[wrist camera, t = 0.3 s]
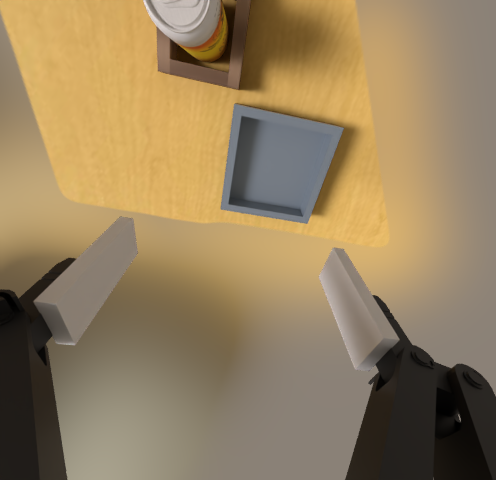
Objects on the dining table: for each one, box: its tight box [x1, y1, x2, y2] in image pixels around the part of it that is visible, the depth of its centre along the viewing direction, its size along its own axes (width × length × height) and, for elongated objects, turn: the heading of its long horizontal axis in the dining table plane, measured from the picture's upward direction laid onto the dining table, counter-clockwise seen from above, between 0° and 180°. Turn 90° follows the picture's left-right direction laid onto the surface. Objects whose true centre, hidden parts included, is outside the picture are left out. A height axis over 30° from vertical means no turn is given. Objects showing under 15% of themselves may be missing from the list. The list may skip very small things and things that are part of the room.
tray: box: [221, 103, 344, 224], centre depth 37 cm, size 16×16×4 cm
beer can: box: [143, 0, 229, 62], centre depth 23 cm, size 6×6×15 cm
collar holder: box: [157, 0, 251, 90], centre depth 27 cm, size 10×10×4 cm
